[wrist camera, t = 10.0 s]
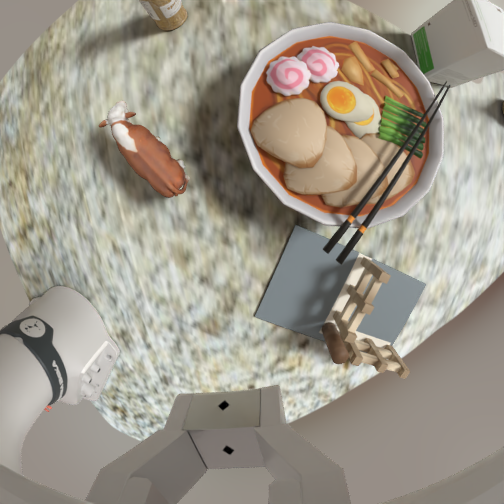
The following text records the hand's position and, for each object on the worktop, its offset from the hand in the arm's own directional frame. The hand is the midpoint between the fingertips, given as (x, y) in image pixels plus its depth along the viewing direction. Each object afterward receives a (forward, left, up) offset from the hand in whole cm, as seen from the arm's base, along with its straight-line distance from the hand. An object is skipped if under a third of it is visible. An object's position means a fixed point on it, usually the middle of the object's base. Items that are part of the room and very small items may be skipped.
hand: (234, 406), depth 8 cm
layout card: (-4, -14, -29) cm, 33 cm away
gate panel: (-2, -14, -28) cm, 32 cm away
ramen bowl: (+16, -4, -29) cm, 34 cm away
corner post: (-8, -14, -29) cm, 33 cm away
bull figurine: (+5, +15, -29) cm, 33 cm away
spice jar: (+24, +22, -29) cm, 44 cm away
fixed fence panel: (-8, -20, -29) cm, 36 cm away
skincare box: (+34, -14, -29) cm, 47 cm away
